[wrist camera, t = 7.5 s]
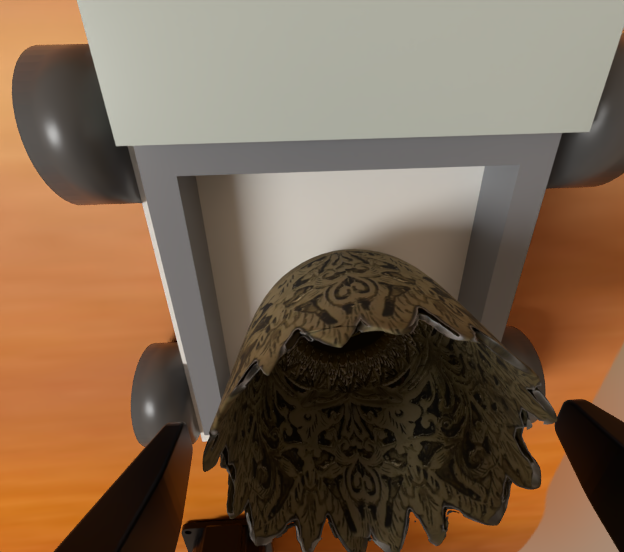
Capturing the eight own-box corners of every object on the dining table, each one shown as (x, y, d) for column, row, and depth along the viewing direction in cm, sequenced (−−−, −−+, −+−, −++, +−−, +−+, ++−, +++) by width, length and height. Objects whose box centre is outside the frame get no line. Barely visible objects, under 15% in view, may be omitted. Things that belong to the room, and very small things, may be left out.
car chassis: (479, 382, 22) (539, 478, 17) (179, 398, 21) (142, 503, 16) (578, 21, 13) (769, -18, 8) (77, 30, 13) (-76, -4, 7)
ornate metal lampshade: (228, 207, 13) (154, 362, 6) (435, 185, 13) (608, 314, 6) (262, 365, 16) (240, 578, 9) (423, 348, 16) (522, 549, 9)
